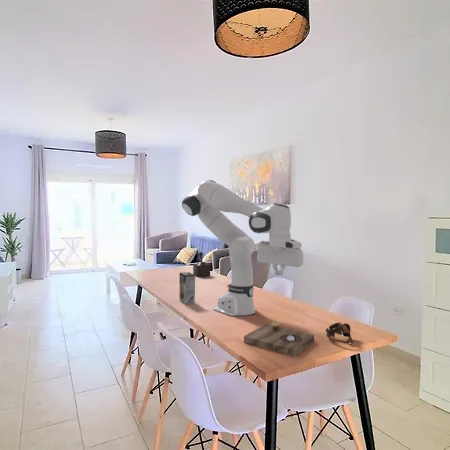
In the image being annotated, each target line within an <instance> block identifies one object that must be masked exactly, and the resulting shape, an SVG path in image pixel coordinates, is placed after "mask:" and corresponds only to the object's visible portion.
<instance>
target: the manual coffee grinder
mask: <svg viewBox="0 0 450 450" xmlns="http://www.w3.org/2000/svg"><path fill="white" fill-rule="evenodd" d="M198 255H199V257H198V258H197V260H200V259H201V260H200V261H199V262H198V263H193V265H192V266H193V268H192V271H193V273H192V274H194V275H195V278H196V277H197V278H200V279H201V278H207V277H211V264H209V263H208V262H206V261H203V258H204V256H203V255H204V253H203V252H202V251H200V252H198Z"/></svg>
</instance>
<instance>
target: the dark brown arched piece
mask: <svg viewBox="0 0 450 450" xmlns="http://www.w3.org/2000/svg"><path fill="white" fill-rule="evenodd" d="M325 332H326V335H325V336H326V337H327V338H329V337H330V338H331V337H332V338H334V339H335V338H336V337H335V335H336V334H337V335H340V336H341V335H342V336H343V337H345V338H347V340H346V342H347V344H348V343H351V344H353V342H352V341H353V338H352V334H351V325H350V324H349V323H345V322H344V323H343V324H342V322H335V323H333V324H331V325H329V326H328V327H327V328H326V329H325Z"/></svg>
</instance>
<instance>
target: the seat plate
mask: <svg viewBox="0 0 450 450" xmlns="http://www.w3.org/2000/svg"><path fill="white" fill-rule="evenodd" d="M288 336H293V337H294V338H295V341H289V340H286V338H287V337H288ZM244 342H245V344H248V343H249V344H248V345H251V344H252V346H256V347H259V346H260V347H259V348H262V347H263V349H266V348H267V349H266V350H269V349H271V350H270V351H273V350H275V351H274V352H277V351H279V352H278V353H280V352H283V353H282V354H284V353H286V354H285V355H287V354H290V355H289V356H291V355H293V356H292V357H295V356H296V357H297V356H298V354H299V353H300V352H301V351H302V350H303V351H305V350H306V349H307V348H308V347H310V346H311V345H312V344H313V343H314V342H315V334H311V333H305V332H301V331H298V330H293V329H288V328H285V327H284V328H283V327H280V326H279V327H278V328H277V329H273V328H272V327H271V324H269V323H268V324H266V323H265V324H264V325H262V326H259V327H258V328H256V329H254V330H253V331H250V332H248V334H246V335H244V336H243V343H244ZM312 342H313V343H312ZM311 343H312V344H311ZM307 346H308V347H307ZM306 347H307V348H306ZM305 348H306V349H305ZM303 351H302V352H303ZM302 352H301V353H302ZM301 353H300V354H301Z"/></svg>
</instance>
